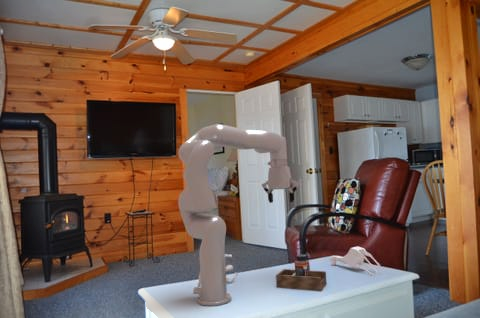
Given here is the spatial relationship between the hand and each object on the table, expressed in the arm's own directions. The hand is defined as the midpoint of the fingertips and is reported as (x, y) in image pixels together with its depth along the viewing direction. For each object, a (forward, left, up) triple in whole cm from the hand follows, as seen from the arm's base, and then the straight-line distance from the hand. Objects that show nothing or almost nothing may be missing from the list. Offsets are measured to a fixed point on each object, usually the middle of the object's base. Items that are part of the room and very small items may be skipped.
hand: (281, 202), depth 165 cm
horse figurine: (+26, +20, -34) cm, 47 cm away
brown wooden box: (+10, -10, -33) cm, 36 cm away
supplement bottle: (+11, -10, -32) cm, 36 cm away
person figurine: (-25, -19, -34) cm, 46 cm away
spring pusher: (+7, -10, -32) cm, 34 cm away
